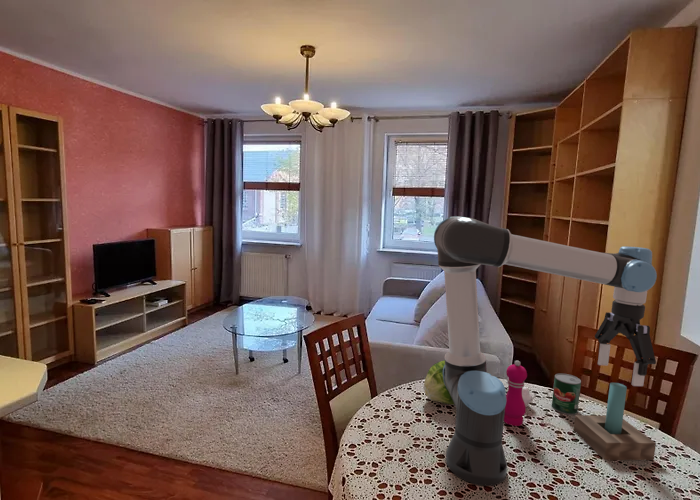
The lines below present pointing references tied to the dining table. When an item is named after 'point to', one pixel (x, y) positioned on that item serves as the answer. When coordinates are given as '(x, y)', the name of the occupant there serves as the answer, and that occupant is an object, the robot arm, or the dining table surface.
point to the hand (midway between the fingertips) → (618, 374)
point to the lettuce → (437, 385)
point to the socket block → (614, 439)
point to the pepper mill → (515, 395)
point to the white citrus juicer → (526, 396)
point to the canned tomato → (566, 394)
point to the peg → (615, 408)
